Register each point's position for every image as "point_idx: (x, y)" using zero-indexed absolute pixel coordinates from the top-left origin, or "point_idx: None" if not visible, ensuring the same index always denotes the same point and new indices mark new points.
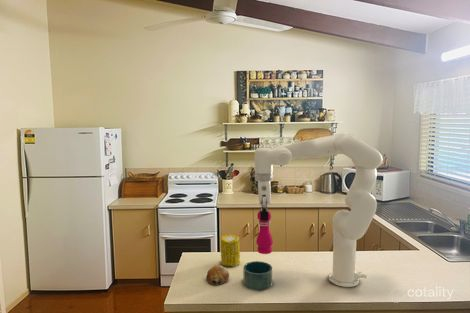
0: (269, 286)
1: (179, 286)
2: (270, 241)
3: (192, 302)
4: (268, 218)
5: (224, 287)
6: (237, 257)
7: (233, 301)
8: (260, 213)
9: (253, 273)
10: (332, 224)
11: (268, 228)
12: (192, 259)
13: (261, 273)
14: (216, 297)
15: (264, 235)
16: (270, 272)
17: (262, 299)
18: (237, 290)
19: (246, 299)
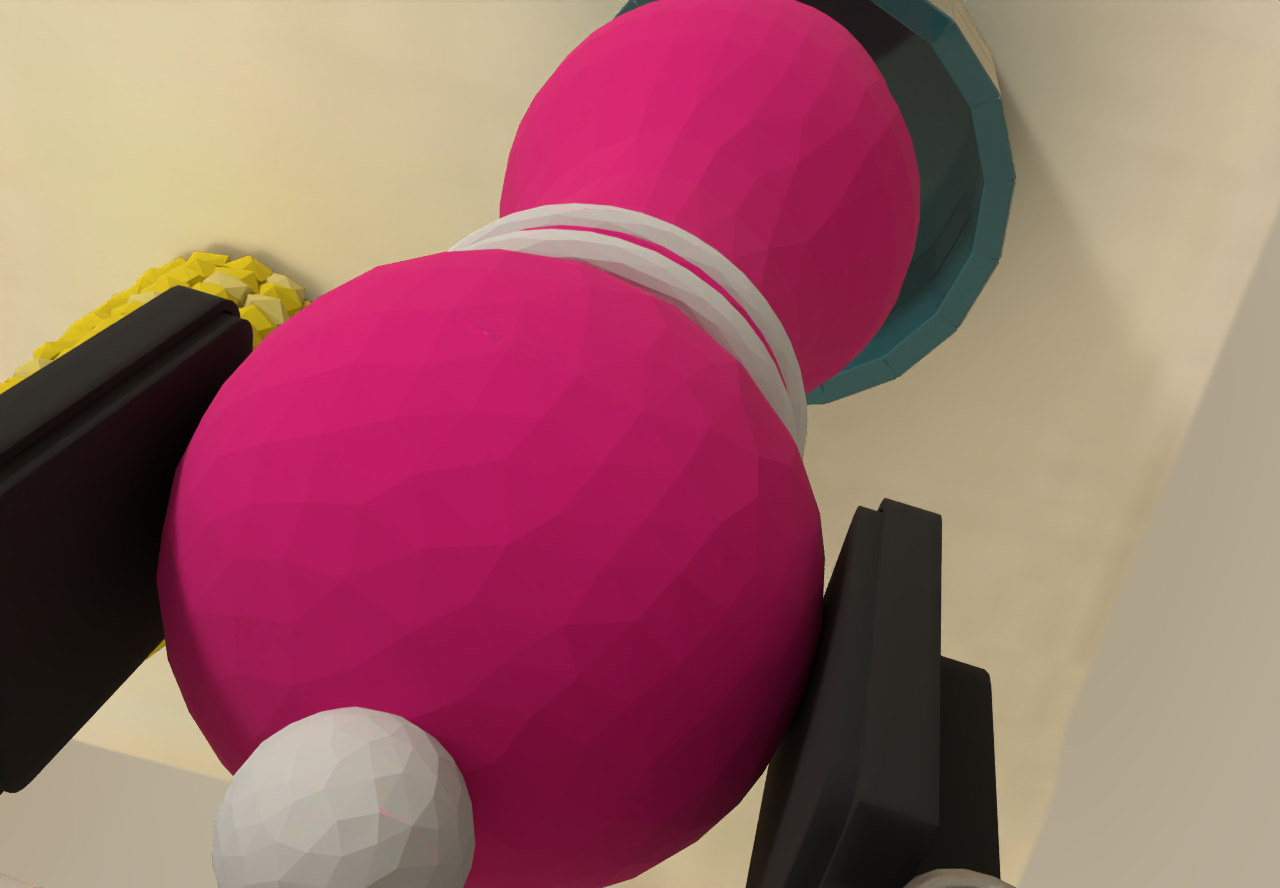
0: (965, 12)
1: (717, 882)
2: (884, 124)
3: (1035, 841)
4: (805, 476)
5: (825, 537)
6: (266, 332)
7: (1151, 514)
8: (606, 884)
9: (953, 312)
10: None
11: (727, 250)
12: (173, 703)
13: (989, 196)
14: (1012, 647)
15: (832, 334)
16: (956, 23)
17: (1233, 188)
18: (927, 423)
19: (1161, 374)
